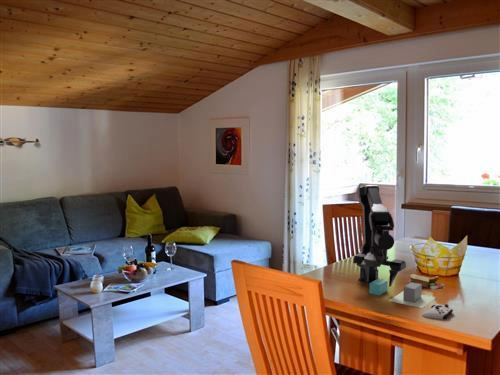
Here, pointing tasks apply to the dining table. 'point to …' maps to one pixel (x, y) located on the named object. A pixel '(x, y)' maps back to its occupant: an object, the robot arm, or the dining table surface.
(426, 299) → the base plate
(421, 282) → the toy sandwich meal
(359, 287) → the dining table surface
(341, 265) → the dining table surface
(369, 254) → the robot arm
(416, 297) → the grey rectangular block
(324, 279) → the dining table surface
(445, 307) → the gaming controller
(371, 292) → the teal brick
